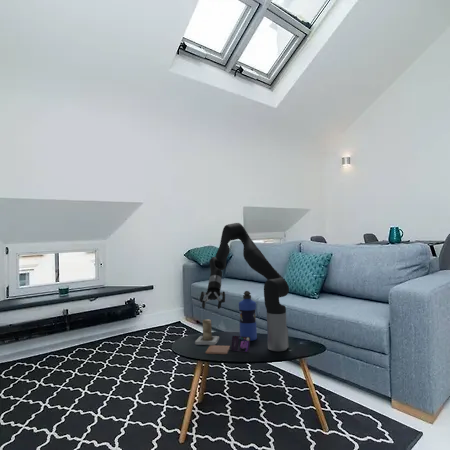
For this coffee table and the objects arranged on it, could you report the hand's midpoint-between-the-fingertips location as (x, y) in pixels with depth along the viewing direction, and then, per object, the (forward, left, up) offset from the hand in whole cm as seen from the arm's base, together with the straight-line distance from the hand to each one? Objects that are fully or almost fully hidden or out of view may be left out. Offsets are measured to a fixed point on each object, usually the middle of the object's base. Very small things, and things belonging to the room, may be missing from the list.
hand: (211, 308), depth 186 cm
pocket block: (+8, +7, -15) cm, 19 cm away
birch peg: (+8, +7, -15) cm, 19 cm away
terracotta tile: (+13, +22, -15) cm, 30 cm away
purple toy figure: (+4, +29, -16) cm, 33 cm away
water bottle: (-11, +18, -15) cm, 26 cm away
